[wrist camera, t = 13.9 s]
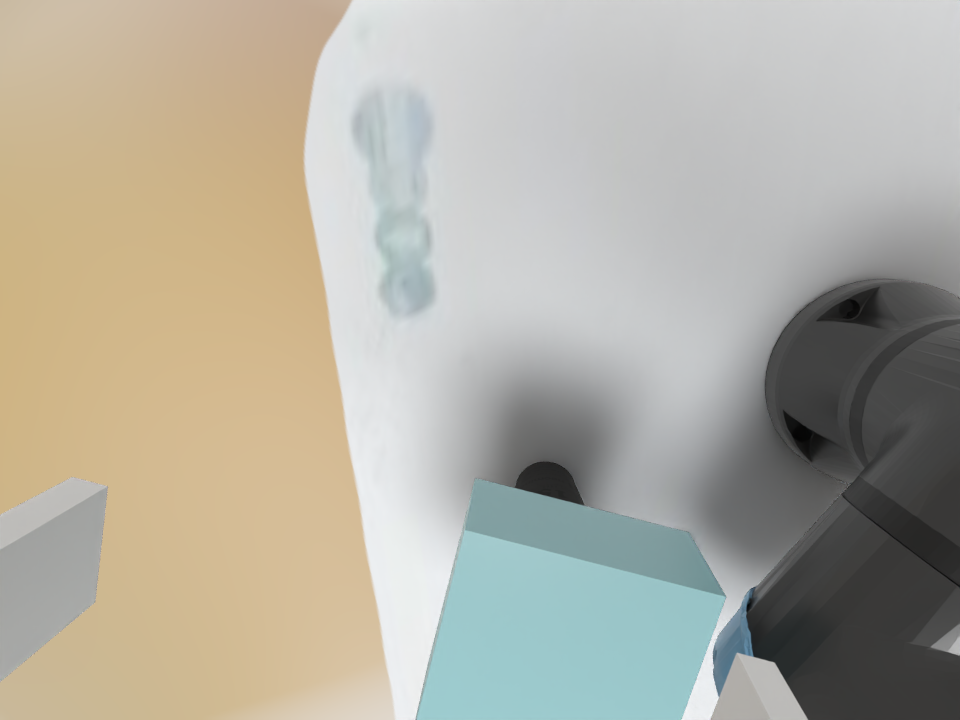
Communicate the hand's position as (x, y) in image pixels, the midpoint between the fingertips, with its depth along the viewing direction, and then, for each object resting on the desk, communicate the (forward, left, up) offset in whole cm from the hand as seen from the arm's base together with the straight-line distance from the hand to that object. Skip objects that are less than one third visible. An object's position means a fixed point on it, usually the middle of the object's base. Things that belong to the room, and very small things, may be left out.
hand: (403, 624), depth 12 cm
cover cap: (-7, +11, -20) cm, 24 cm away
